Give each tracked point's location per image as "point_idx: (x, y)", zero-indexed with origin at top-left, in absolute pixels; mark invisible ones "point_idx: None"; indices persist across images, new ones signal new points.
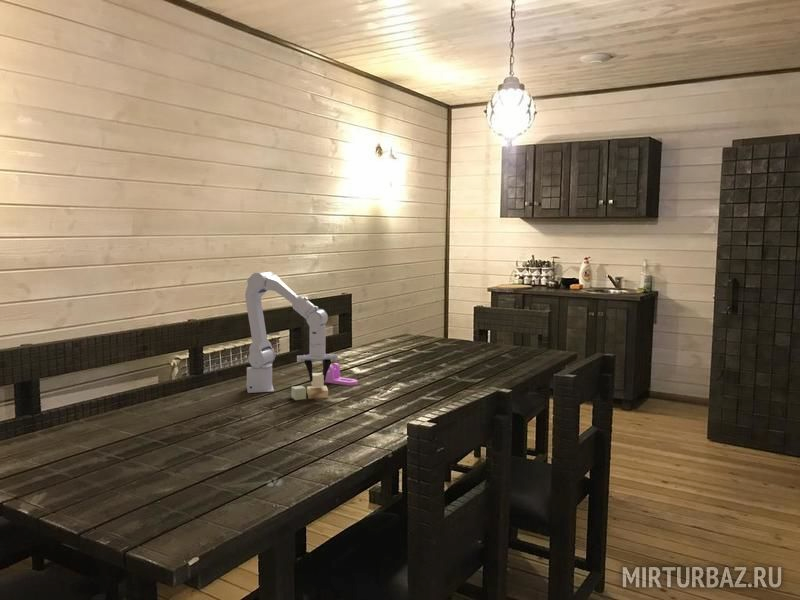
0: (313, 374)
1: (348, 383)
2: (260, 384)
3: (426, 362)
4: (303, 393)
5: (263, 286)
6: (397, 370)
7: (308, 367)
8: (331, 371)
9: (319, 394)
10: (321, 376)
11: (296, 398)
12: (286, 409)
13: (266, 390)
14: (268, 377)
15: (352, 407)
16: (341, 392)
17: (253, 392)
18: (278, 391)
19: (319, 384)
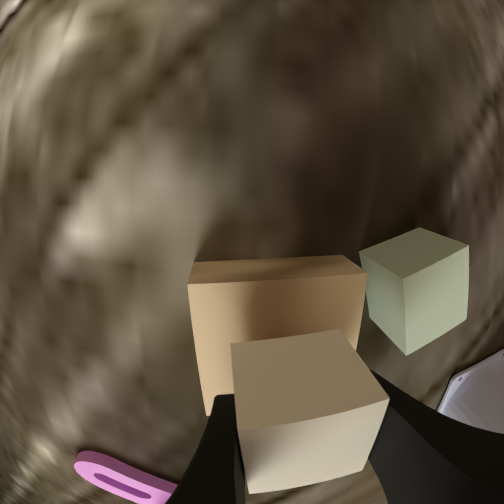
0: (359, 444)
1: (104, 462)
2: (500, 378)
3: (10, 497)
4: (396, 256)
5: None
6: (30, 493)
7: (500, 443)
8: None
9: (268, 268)
10: (269, 414)
11: (419, 232)
12: (451, 59)
13: (472, 373)
14: (495, 411)
15: (70, 19)
16: (111, 371)
17: (499, 351)
18: (434, 386)
19: (277, 349)
